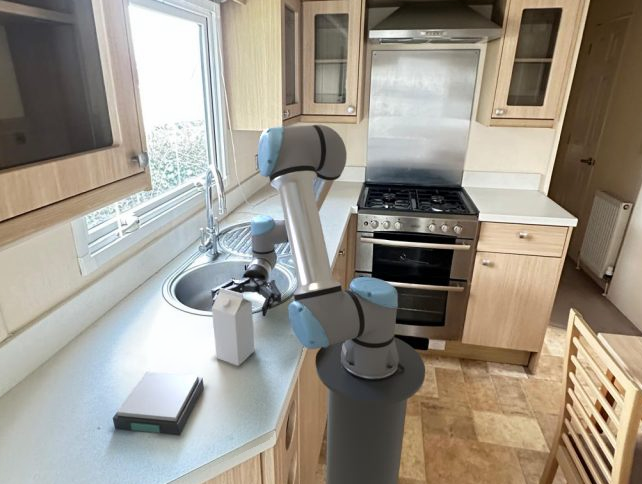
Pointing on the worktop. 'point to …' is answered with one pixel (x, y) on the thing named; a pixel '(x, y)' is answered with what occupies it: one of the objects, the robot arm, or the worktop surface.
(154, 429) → the kitchen scale
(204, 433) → the worktop surface
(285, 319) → the worktop surface
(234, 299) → the milk carton
